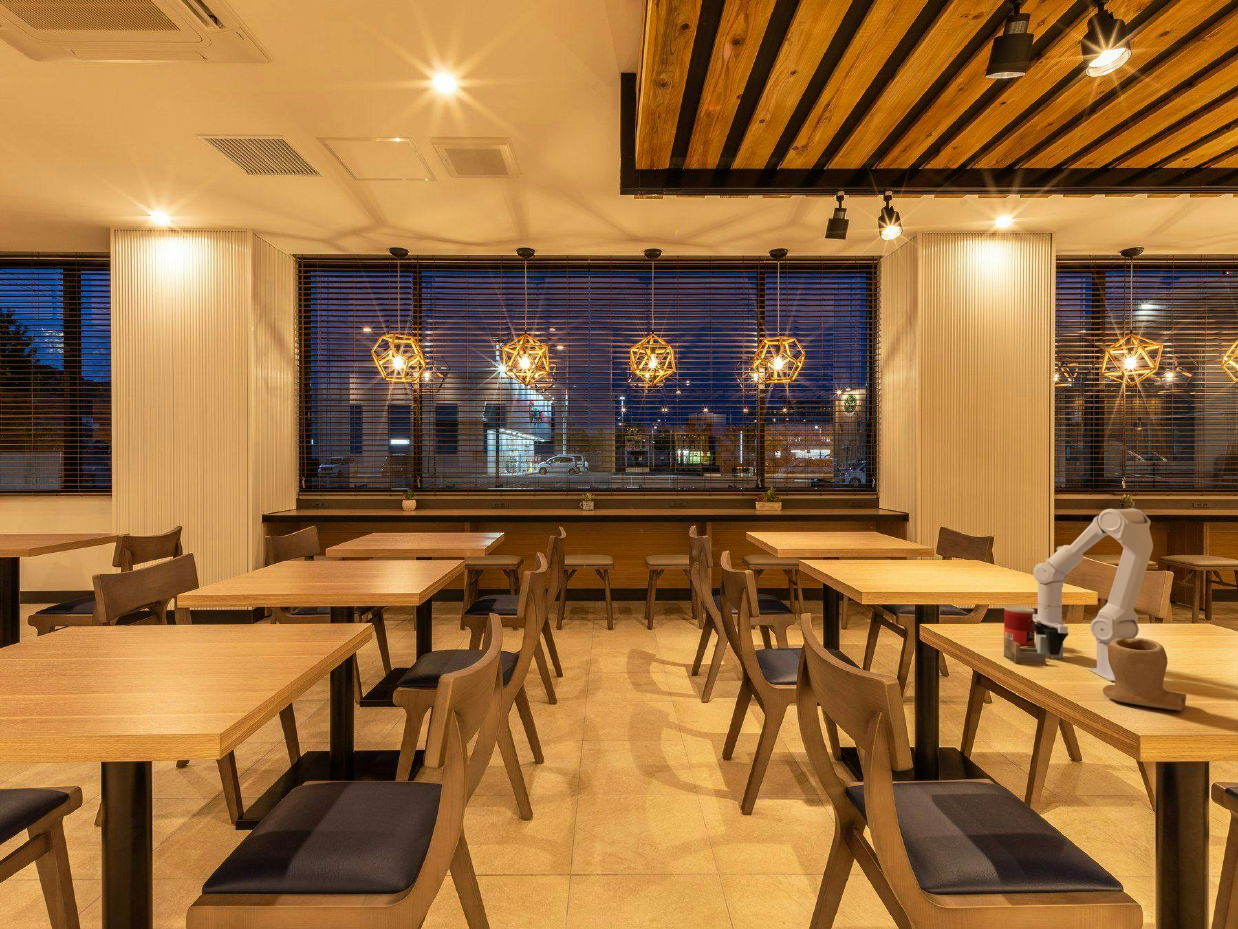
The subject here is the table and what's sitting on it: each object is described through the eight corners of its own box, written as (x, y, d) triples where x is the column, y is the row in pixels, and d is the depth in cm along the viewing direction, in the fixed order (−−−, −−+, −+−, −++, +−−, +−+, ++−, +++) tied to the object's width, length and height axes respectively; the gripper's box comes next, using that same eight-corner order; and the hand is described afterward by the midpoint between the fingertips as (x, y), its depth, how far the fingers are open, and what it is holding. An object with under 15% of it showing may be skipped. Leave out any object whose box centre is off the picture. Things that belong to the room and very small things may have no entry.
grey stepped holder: (1047, 665, 168) (1047, 645, 168) (1015, 664, 169) (1016, 644, 169) (1034, 657, 175) (1034, 638, 175) (1003, 656, 176) (1004, 637, 176)
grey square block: (1063, 659, 174) (1063, 638, 174) (1040, 657, 175) (1040, 636, 175) (1058, 656, 177) (1058, 635, 177) (1035, 655, 177) (1035, 634, 177)
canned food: (1033, 649, 183) (1034, 612, 183) (1002, 644, 188) (1003, 608, 188) (1035, 643, 190) (1035, 608, 190) (1005, 638, 194) (1005, 604, 194)
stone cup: (1104, 705, 140) (1104, 640, 140) (1101, 690, 149) (1102, 629, 149) (1194, 722, 131) (1194, 652, 131) (1185, 705, 140) (1185, 640, 140)
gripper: (1021, 598, 184) (1021, 643, 184) (1048, 610, 169) (1047, 658, 169) (1047, 599, 183) (1047, 645, 182) (1076, 611, 168) (1075, 660, 168)
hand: (1049, 651), depth 176 cm, fingers open, 4 cm apart
